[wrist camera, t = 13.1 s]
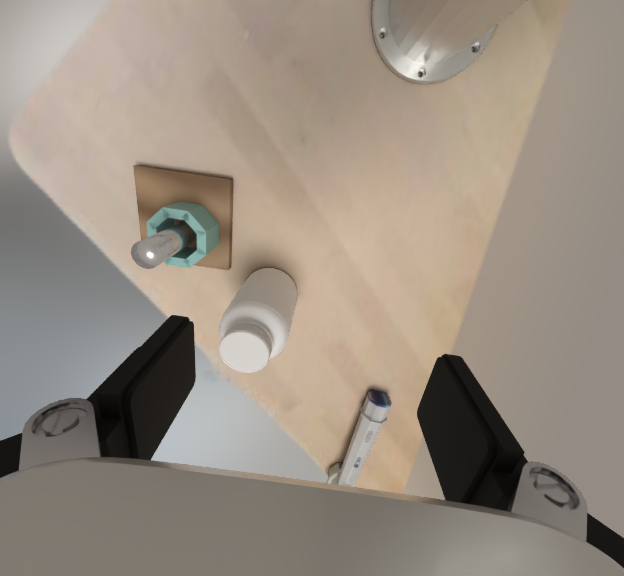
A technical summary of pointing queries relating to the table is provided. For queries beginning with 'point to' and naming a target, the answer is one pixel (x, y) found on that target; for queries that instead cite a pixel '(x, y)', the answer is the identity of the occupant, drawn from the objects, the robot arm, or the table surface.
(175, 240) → the grey metal peg
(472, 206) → the table surface
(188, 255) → the ring
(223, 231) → the board
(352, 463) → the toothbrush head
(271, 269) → the pill bottle
